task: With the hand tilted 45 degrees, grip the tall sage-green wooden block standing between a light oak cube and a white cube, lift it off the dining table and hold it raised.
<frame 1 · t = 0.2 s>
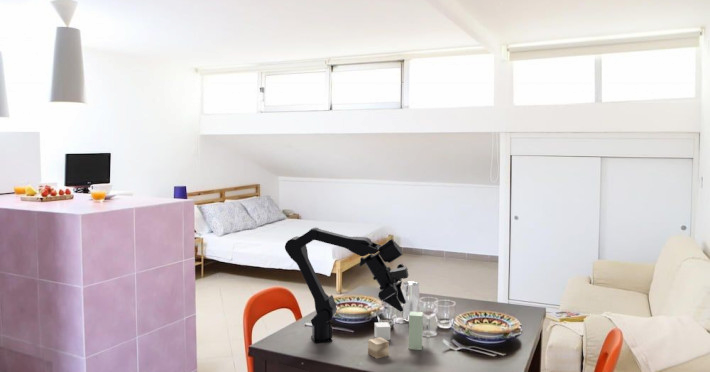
hand: (403, 307, 195), 14 cm above the table, tool tilted 35°, fingers open, 9 cm apart
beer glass: (410, 320, 225), on the table
white cube: (382, 337, 204), on the table
sage block: (415, 347, 195), on the table
oak cube: (378, 354, 188), on the table
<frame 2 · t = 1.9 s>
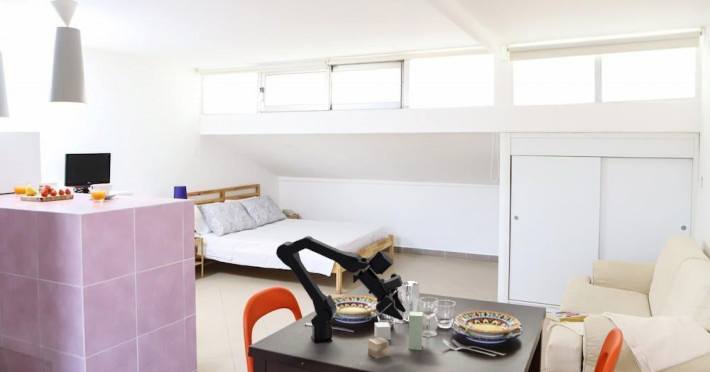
hand: (403, 315, 195), 11 cm above the table, tool tilted 45°, fingers open, 9 cm apart
nothing on the table moved.
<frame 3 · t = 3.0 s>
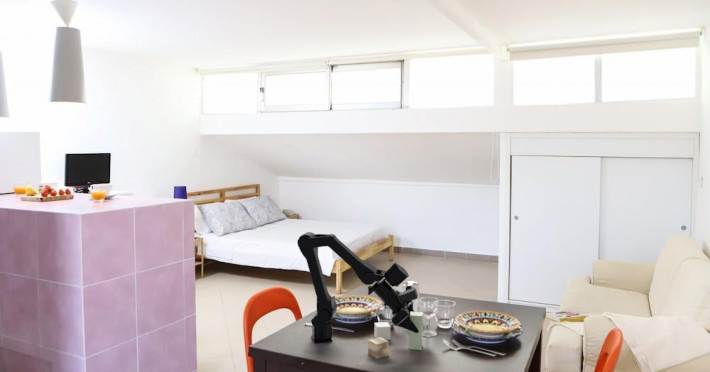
hand: (419, 327, 194), 7 cm above the table, tool tilted 45°, fingers open, 9 cm apart
nothing on the table moved.
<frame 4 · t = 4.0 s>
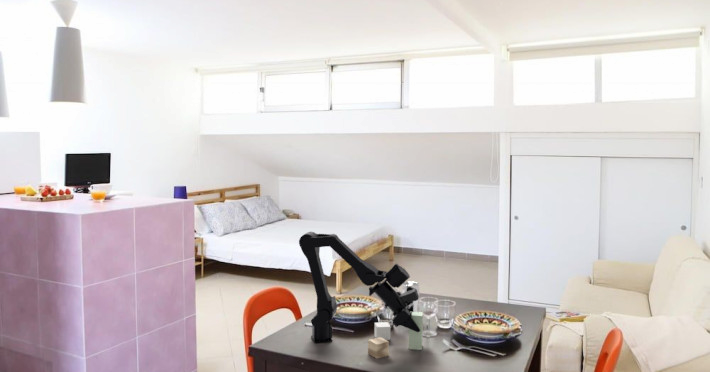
hand: (419, 329, 194), 7 cm above the table, tool tilted 45°, fingers closed on sage block, 4 cm apart
sage block: (415, 347, 195), on the table, touching gripper
everything else where it was.
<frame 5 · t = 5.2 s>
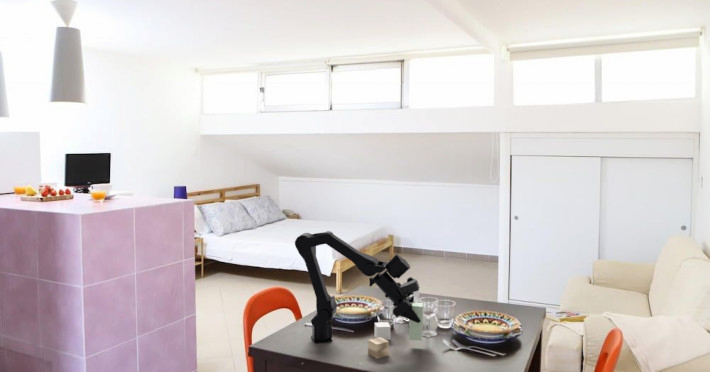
hand: (420, 319, 194), 10 cm above the table, tool tilted 45°, fingers closed on sage block, 4 cm apart
sage block: (415, 337, 195), point 3 cm above the table, touching gripper
everything else where it was.
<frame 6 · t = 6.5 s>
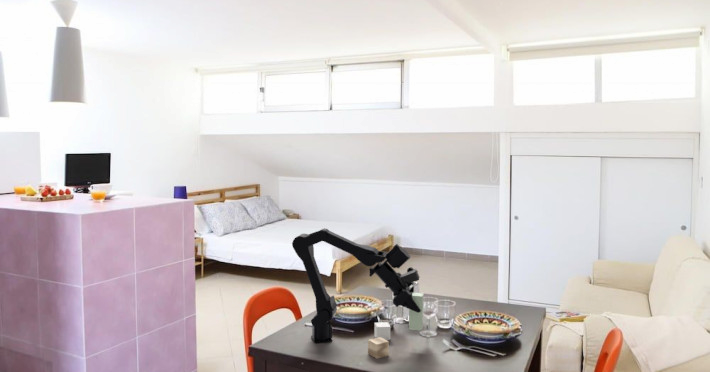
hand: (420, 309, 194), 13 cm above the table, tool tilted 45°, fingers closed on sage block, 4 cm apart
sage block: (415, 327, 195), point 7 cm above the table, touching gripper
everything else where it was.
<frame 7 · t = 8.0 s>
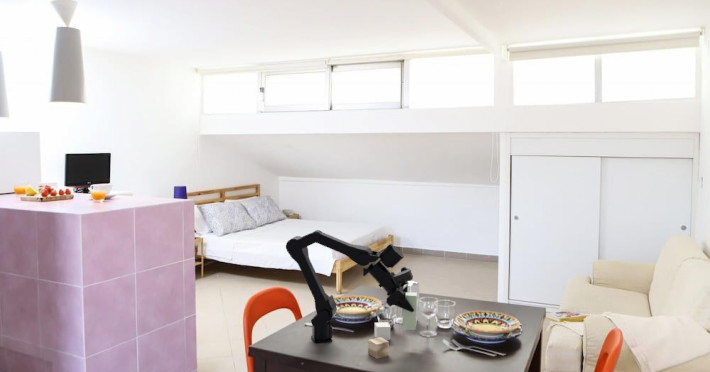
hand: (413, 309, 194), 14 cm above the table, tool tilted 45°, fingers closed on sage block, 4 cm apart
sage block: (409, 327, 195), point 7 cm above the table, touching gripper
everything else where it was.
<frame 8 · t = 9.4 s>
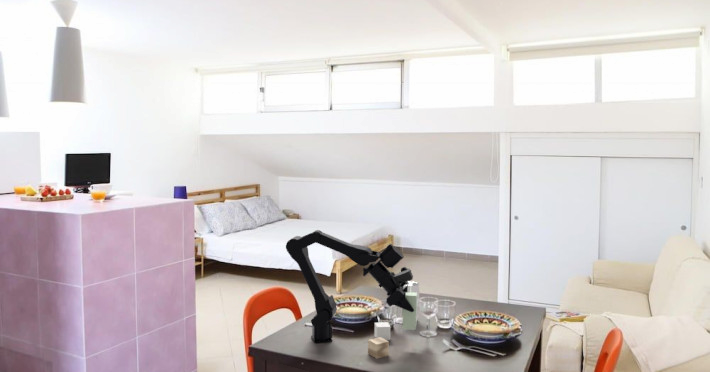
hand: (413, 309, 194), 14 cm above the table, tool tilted 45°, fingers closed on sage block, 4 cm apart
sage block: (409, 327, 195), point 7 cm above the table, touching gripper
everything else where it was.
at the end: the gripper is holding sage block; sage block point 6.9 cm above the table; oak cube moved 0.1 cm from its start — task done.
